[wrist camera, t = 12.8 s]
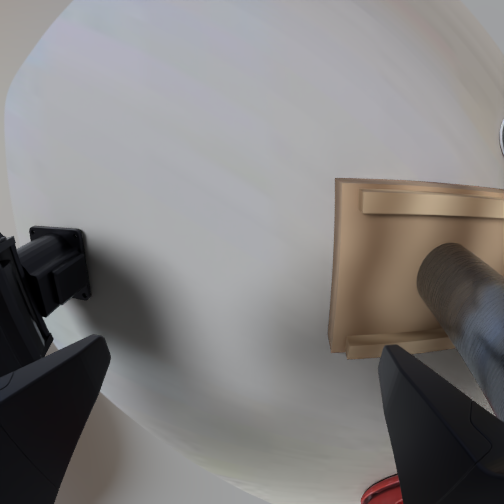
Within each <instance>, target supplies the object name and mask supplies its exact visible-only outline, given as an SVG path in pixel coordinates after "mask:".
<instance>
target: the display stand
mask: <svg viewBox="0 0 504 504" xmlns="http://www.w3.org/2000/svg"><path fill="white" fill-rule="evenodd" d="M451 242H453V243H458V244H460V245H462V246H464V247H465V248H466V249H468V250H469V251H471V252H472V253H473V254H475V255H476V256H477V257H479V258H480V259H481V260H483V261H484V262H485V263H487V264H488V265H489V266H490V267H492V268H493V269H494V270H496V271H497V272H498V273H499V274H501V275H502V276H503V277H504V190H503V189H496V188H487V187H479V186H469V185H459V184H448V183H436V182H422V181H406V180H386V179H356V178H335V225H334V252H333V271H332V287H331V301H330V313H329V325H328V338H329V343H330V349H331V353H339V352H346V356H347V360H348V359H364V358H377V357H381V354H382V350H383V347H384V346H385V345H390V344H397V345H399V346H400V347H402V348H403V349H405V350H406V351H407V352H409V353H410V354H417V353H425V352H433V351H440V350H447V349H453V348H456V347H455V346H454V344H453V343H452V341H451V340H450V338H449V337H448V335H447V334H446V332H445V331H444V329H443V328H442V327H441V325H440V324H439V322H438V321H437V319H436V318H435V317H434V315H433V314H432V312H431V311H430V309H429V308H428V307H427V305H426V304H425V303H424V301H423V300H422V298H421V297H420V295H419V293H418V290H417V275H418V271H419V268H420V266H421V264H422V262H423V260H424V259H425V257H426V256H427V255H428V254H429V253H430V252H431V251H432V250H433V249H435V248H436V247H438V246H440V245H442V244H445V243H451Z"/></svg>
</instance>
